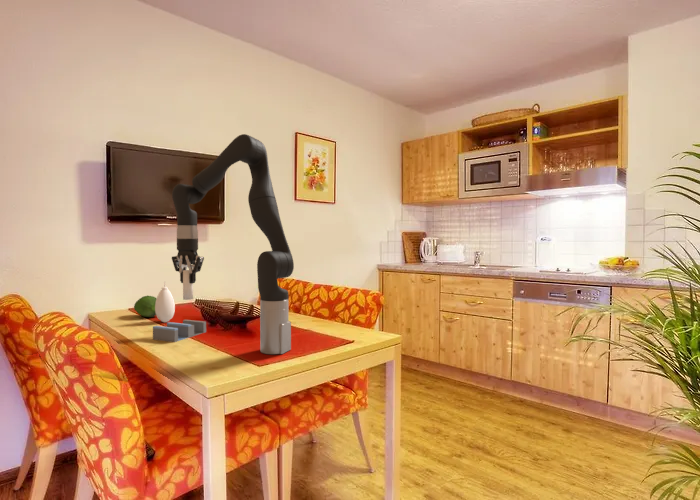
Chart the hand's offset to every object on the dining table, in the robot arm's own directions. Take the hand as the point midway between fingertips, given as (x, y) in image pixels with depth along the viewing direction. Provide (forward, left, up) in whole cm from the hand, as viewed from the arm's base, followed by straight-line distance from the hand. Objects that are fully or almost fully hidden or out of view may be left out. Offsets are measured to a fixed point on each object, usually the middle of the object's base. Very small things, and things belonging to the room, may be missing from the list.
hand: (187, 282), depth 152 cm
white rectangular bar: (0, 0, -6) cm, 6 cm away
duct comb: (0, +4, -20) cm, 21 cm away
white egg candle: (+27, -16, -20) cm, 37 cm away
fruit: (+44, -22, -20) cm, 53 cm away
